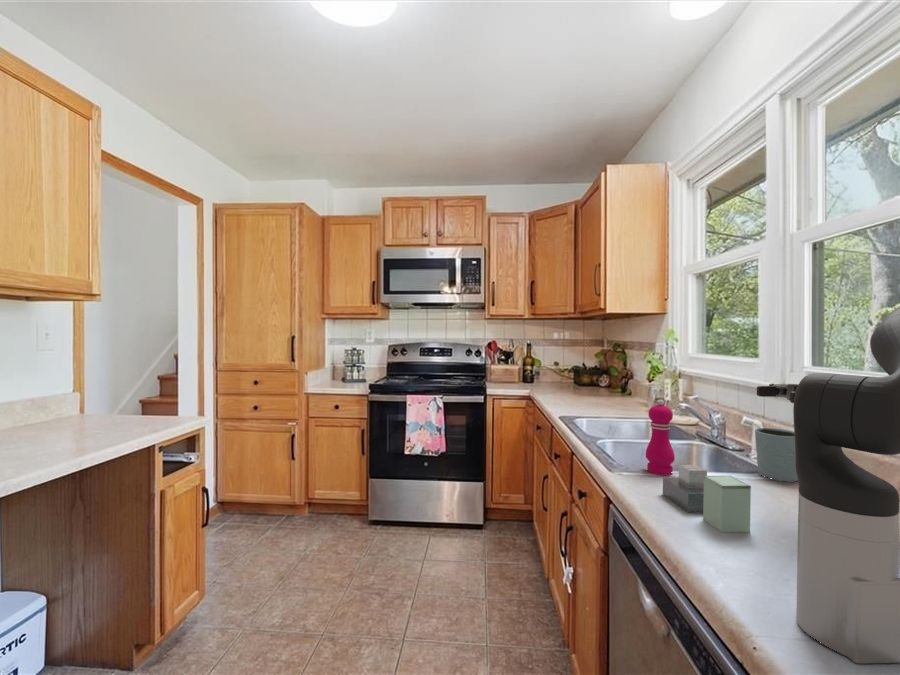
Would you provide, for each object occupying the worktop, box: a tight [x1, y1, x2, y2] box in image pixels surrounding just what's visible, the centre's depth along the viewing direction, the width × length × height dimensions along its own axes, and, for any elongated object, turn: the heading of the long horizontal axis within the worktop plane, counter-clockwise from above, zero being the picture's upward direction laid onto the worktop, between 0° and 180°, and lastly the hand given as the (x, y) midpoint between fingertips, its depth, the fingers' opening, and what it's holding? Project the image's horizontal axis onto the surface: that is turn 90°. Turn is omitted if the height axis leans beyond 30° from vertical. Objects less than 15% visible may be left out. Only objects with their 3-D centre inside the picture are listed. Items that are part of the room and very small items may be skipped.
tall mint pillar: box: [702, 475, 752, 533], centre depth 83 cm, size 6×6×9 cm
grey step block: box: [662, 464, 708, 514], centre depth 94 cm, size 10×8×8 cm
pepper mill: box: [645, 399, 676, 476], centre depth 115 cm, size 7×7×20 cm
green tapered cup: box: [754, 427, 798, 483], centre depth 112 cm, size 10×10×12 cm
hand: (774, 394), depth 85 cm, fingers open, 8 cm apart
